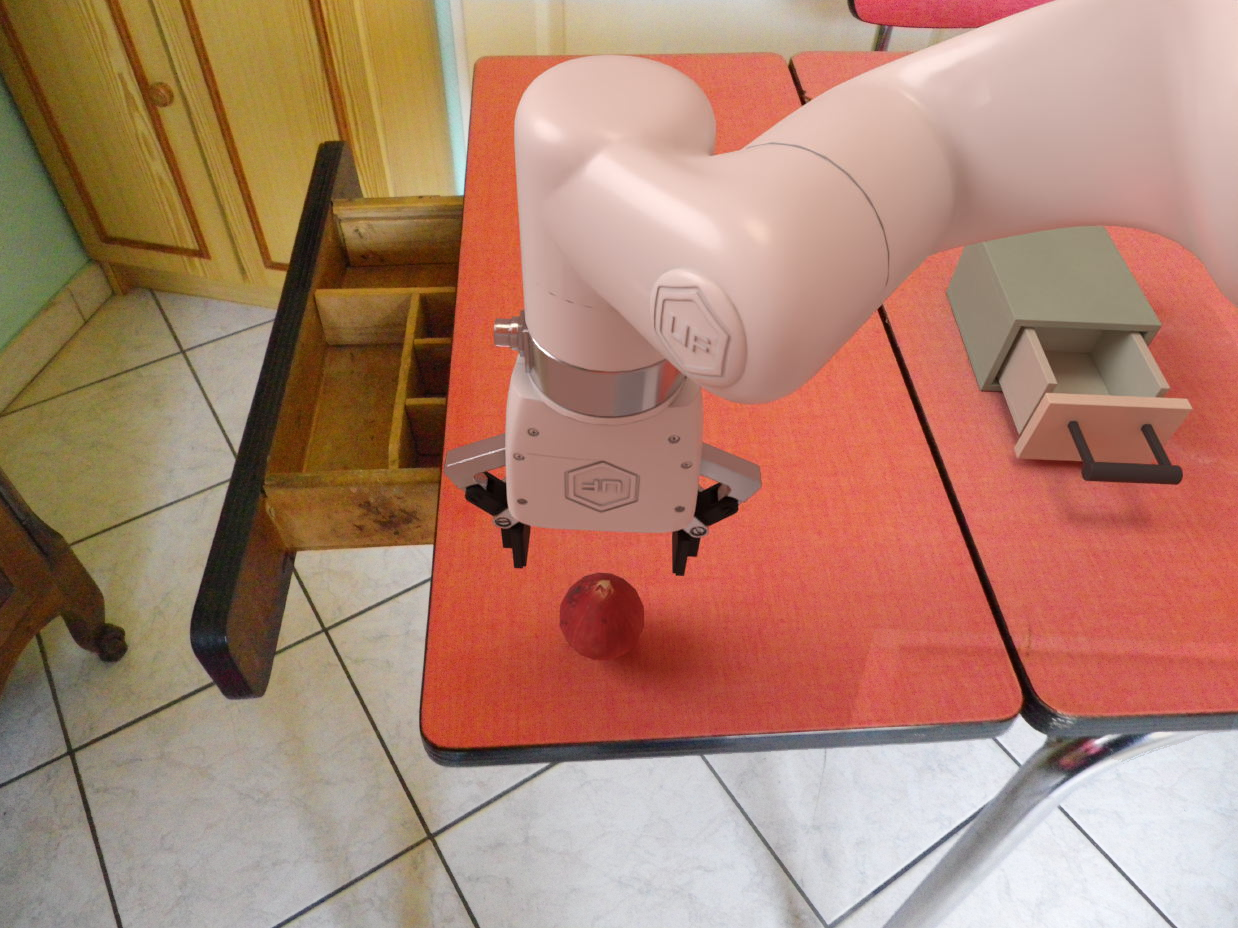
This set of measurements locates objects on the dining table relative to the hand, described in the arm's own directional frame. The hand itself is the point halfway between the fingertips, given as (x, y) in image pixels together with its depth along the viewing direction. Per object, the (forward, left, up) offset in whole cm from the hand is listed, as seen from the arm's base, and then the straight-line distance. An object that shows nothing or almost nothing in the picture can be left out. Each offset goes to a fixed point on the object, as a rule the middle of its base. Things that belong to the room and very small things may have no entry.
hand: (600, 552), depth 53 cm
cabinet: (-13, -52, -11) cm, 55 cm away
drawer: (-21, -41, -10) cm, 47 cm away
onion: (0, 0, -11) cm, 11 cm away
